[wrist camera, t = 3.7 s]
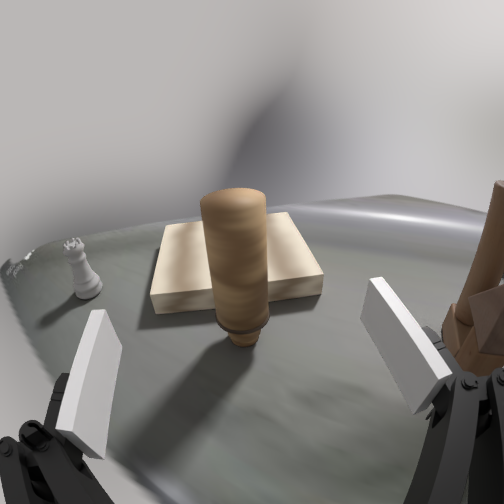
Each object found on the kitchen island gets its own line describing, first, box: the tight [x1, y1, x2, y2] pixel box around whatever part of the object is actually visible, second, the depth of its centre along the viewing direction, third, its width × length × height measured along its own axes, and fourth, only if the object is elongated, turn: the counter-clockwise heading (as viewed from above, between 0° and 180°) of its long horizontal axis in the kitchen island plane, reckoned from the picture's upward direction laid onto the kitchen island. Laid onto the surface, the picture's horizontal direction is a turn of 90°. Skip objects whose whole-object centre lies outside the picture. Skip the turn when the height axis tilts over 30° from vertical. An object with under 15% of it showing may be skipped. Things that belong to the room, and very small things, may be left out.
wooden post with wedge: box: [442, 180, 504, 377], centre depth 19 cm, size 4×11×18 cm, turn 157°
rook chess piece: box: [63, 238, 102, 300], centre depth 36 cm, size 4×4×8 cm
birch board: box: [150, 212, 324, 314], centre depth 41 cm, size 20×18×3 cm
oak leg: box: [200, 188, 270, 347], centre depth 26 cm, size 5×5×15 cm
